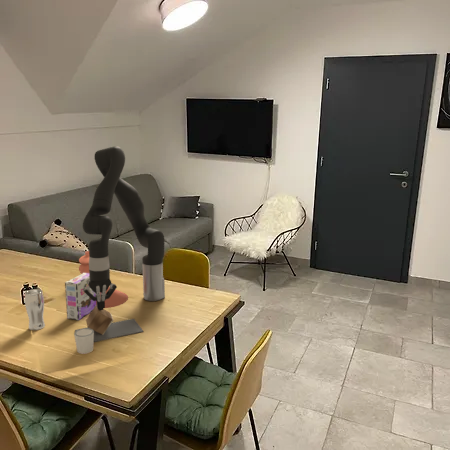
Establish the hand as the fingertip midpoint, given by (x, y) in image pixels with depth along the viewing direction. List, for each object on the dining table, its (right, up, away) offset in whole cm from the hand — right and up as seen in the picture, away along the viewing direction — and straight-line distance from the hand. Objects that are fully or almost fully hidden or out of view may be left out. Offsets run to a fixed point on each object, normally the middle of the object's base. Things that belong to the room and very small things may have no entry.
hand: (100, 309), depth 174 cm
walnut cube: (+2, -6, +2) cm, 7 cm away
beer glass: (-28, -8, +6) cm, 30 cm away
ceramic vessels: (-11, -1, +41) cm, 42 cm away
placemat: (+2, -9, +3) cm, 10 cm away
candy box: (-14, -6, +20) cm, 24 cm away
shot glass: (-2, -13, -12) cm, 17 cm away
